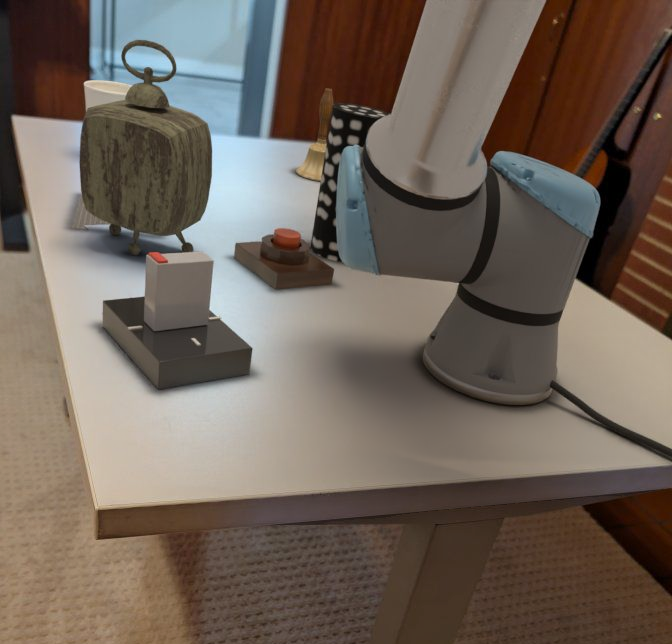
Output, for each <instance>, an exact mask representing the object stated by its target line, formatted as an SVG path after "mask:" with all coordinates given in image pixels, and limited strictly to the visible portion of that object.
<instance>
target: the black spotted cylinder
mask: <svg viewBox="0 0 672 644" xmlns="http://www.w3.org/2000/svg"><path fill="white" fill-rule="evenodd" d="M389 114H390V113H389V112H386V111H384V110H381V109H378V108H374V107H370V106H366V105H361V104H354V103H346V102H345V103H344V102H342V103H341V102H336V103H333V107H332V113H331V118H330V121H329V125H328V131H327V138H326V151H325V157H324V164H323V170H322V176H321V181H320V183H319V189H318V196H317V202H316V209H315V215H314V221H313V229H312V234H311V240H310V248H311V249H310V251H311V252H312V253H313V254H315V255H317V256H319V257H320V258H324V259H326V260H329V261H334V262H338V263H339V262H340V263H343V262H342V261H341V259H340V256H339V252H338V246H337V231H336V203H337V182H338V171H339V163H340V158H341V154H342V152H343V150H344V149H345V148H346V147H347V146H354V145H359V146H360V147H363V148H364V145H365V141H366V138H367V135H368V132H369V130H370V128H371V126H372V125H373V124H374V123H375V122H376V121H377V120H379V119H380V118H382V117H384V116H387V115H389Z"/></svg>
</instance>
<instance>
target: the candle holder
mask: <svg viewBox="0 0 672 644" xmlns="http://www.w3.org/2000/svg"><path fill="white" fill-rule="evenodd" d="M132 86H133V85H132V84H128V83H124V82H119V81H118V82H117V81H111V80H101V79H99V80H98V79H97V80H96V79H93V80H92V79H91V80H85V81H84V82H83V90H84V105H85V112H86V111H87V109H88V108H90V107H94V106H98V105H102V104H107V103H112V102H116V101H121V100H125V97H126V94H127V92H128V90H129V89H130V87H132Z"/></svg>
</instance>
